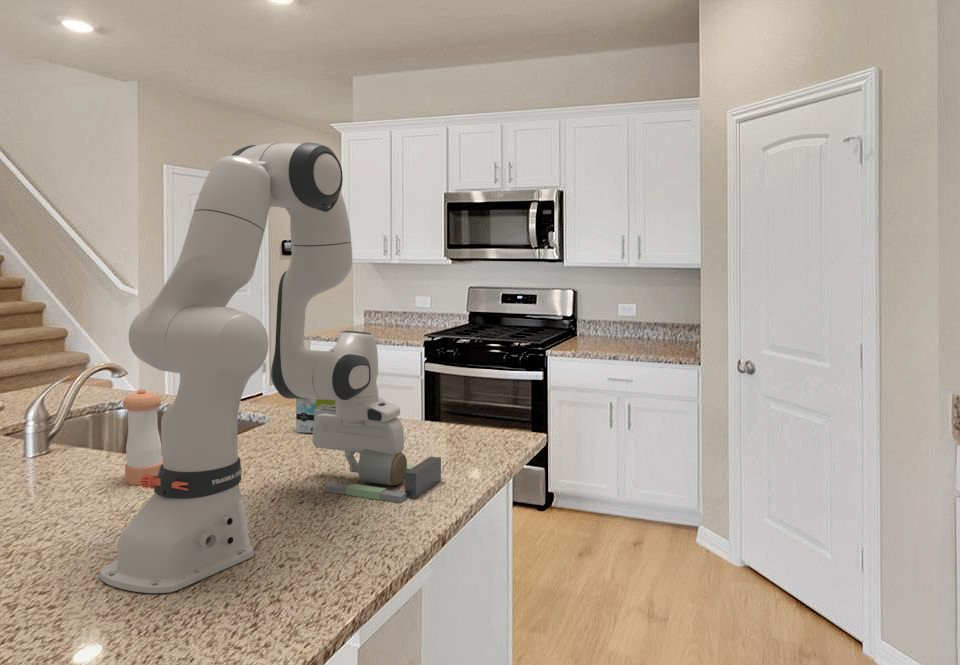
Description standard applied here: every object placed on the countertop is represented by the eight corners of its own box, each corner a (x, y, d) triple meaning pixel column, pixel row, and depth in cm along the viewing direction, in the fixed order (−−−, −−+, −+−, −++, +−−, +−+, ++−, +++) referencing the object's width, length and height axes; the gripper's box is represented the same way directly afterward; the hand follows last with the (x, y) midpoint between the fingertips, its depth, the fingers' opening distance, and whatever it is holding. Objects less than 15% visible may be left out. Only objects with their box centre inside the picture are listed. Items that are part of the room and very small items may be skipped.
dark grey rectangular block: (416, 498, 136) (416, 473, 135) (405, 497, 137) (405, 472, 136) (440, 480, 147) (441, 457, 147) (430, 479, 148) (430, 456, 148)
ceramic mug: (393, 491, 140) (393, 453, 139) (357, 486, 143) (357, 449, 142) (415, 476, 150) (415, 441, 149) (381, 472, 153) (381, 438, 152)
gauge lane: (400, 503, 134) (400, 495, 133) (324, 491, 139) (324, 484, 139) (439, 475, 151) (439, 468, 151) (370, 466, 157) (370, 459, 157)
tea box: (295, 433, 185) (294, 378, 184) (310, 425, 195) (310, 372, 194) (349, 436, 183) (349, 381, 181) (362, 427, 193) (361, 374, 191)
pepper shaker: (149, 486, 141) (145, 393, 139) (117, 483, 143) (113, 391, 141) (171, 475, 148) (168, 387, 146) (141, 473, 150) (137, 385, 148)
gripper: (305, 406, 146) (306, 470, 148) (393, 414, 139) (393, 482, 141) (322, 400, 152) (323, 462, 154) (407, 408, 145) (407, 473, 147)
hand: (357, 472), depth 147 cm, fingers closed
